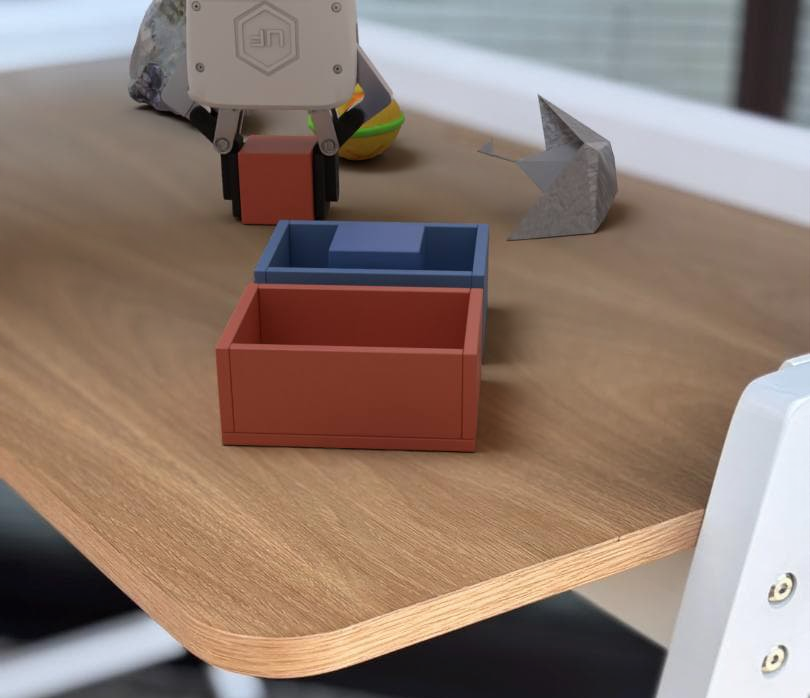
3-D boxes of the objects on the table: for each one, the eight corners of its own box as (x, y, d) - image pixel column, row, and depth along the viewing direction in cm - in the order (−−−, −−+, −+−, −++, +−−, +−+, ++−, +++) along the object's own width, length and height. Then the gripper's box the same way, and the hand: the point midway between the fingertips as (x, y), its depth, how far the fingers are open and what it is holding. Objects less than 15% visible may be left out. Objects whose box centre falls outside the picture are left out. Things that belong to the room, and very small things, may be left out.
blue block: (330, 335, 76) (328, 249, 74) (341, 304, 80) (338, 222, 78) (419, 337, 76) (419, 251, 73) (425, 306, 80) (425, 223, 77)
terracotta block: (241, 224, 94) (237, 153, 92) (253, 203, 98) (249, 134, 96) (312, 225, 94) (310, 154, 92) (321, 204, 98) (319, 135, 96)
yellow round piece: (318, 175, 104) (315, 96, 101) (297, 139, 113) (294, 66, 110) (415, 169, 105) (414, 91, 103) (386, 134, 114) (386, 61, 111)
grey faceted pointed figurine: (622, 232, 88) (472, 190, 88) (590, 295, 94) (449, 256, 93) (646, 85, 94) (505, 44, 93) (614, 153, 100) (481, 115, 99)
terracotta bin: (221, 444, 66) (214, 347, 64) (252, 372, 73) (247, 282, 71) (475, 452, 65) (477, 354, 63) (481, 378, 73) (483, 288, 70)
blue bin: (258, 358, 75) (253, 270, 73) (282, 301, 82) (279, 219, 80) (482, 364, 74) (484, 275, 72) (487, 306, 81) (489, 223, 79)
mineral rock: (255, 137, 113) (248, -3, 108) (112, 139, 113) (98, -1, 108) (263, 98, 124) (257, -30, 119) (133, 99, 124) (122, -29, 119)
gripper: (109, -89, 84) (138, 227, 93) (408, -88, 83) (409, 232, 92) (140, -104, 91) (165, 192, 100) (417, -103, 90) (418, 197, 99)
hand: (282, 208), depth 96 cm, fingers closed on terracotta block, 4 cm apart
